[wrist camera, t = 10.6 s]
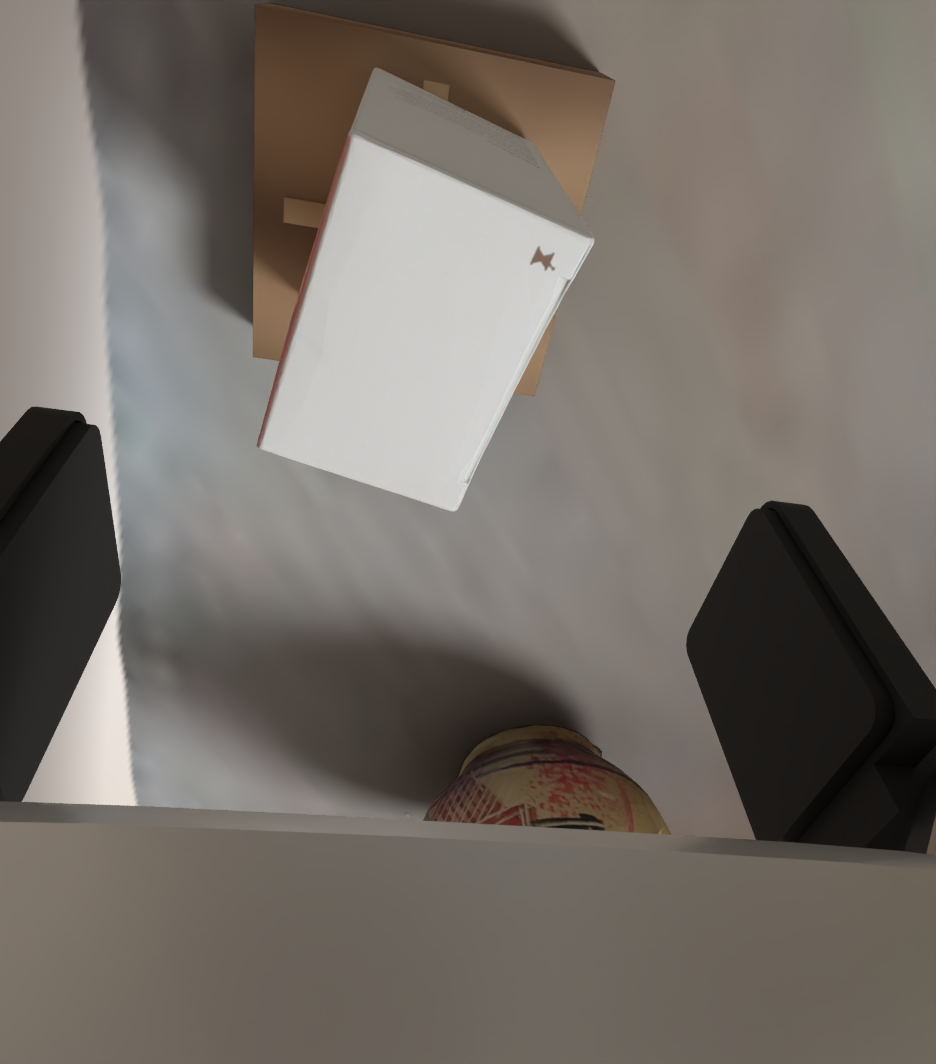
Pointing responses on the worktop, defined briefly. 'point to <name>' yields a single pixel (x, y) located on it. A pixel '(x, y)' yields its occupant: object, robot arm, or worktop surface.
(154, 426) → the worktop surface
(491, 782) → the ceramic jug
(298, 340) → the small box
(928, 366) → the worktop surface
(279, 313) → the brown cardboard box
